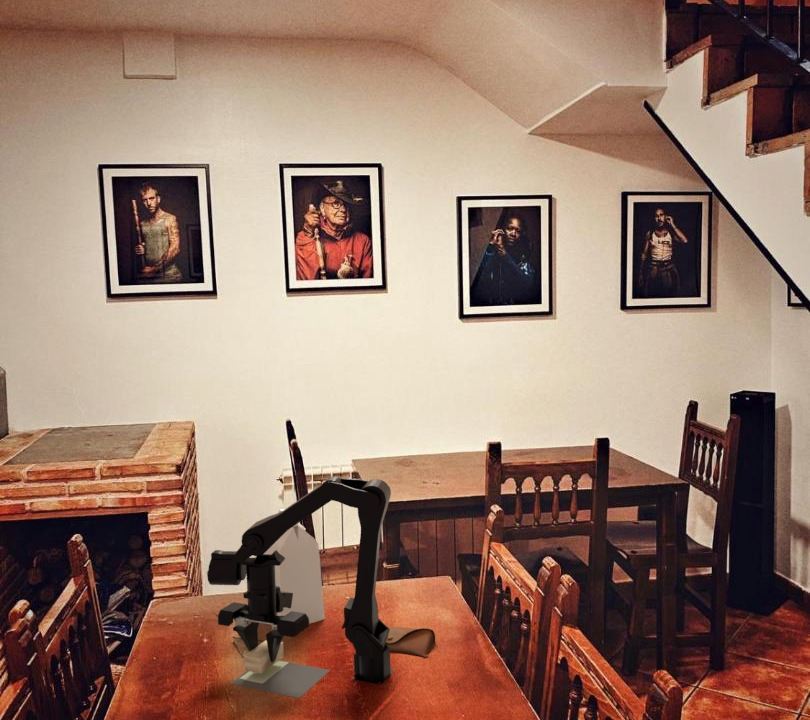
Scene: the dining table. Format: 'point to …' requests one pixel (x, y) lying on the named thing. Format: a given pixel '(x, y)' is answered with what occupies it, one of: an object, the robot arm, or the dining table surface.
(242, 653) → the shard
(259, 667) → the birch block
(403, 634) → the sunglasses case
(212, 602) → the dining table surface
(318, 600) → the milk
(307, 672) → the mat
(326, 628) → the dining table surface
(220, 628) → the dining table surface
